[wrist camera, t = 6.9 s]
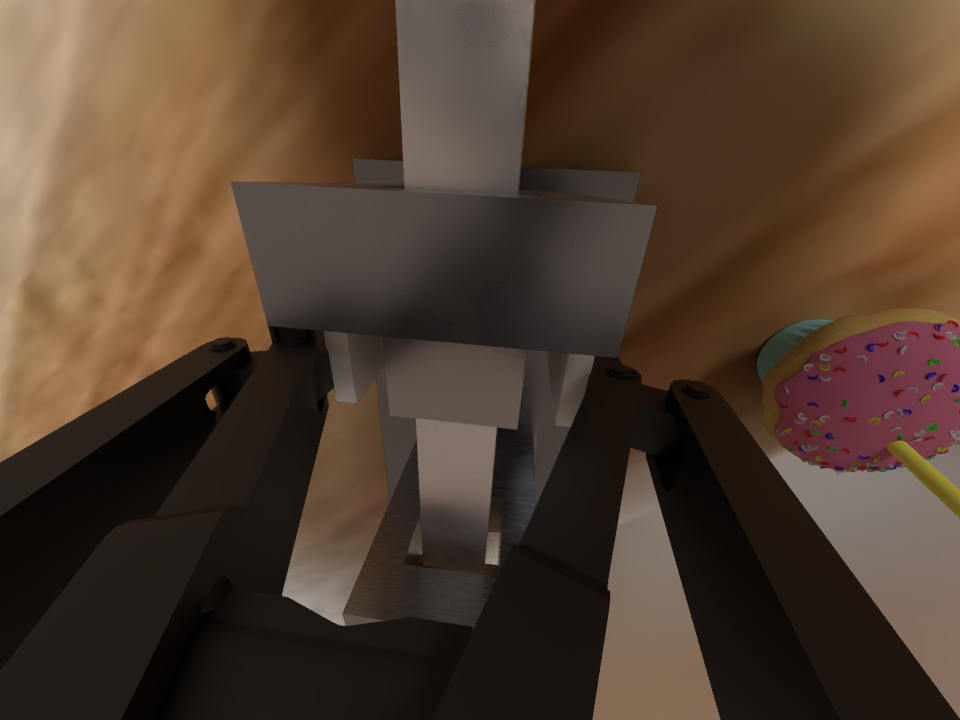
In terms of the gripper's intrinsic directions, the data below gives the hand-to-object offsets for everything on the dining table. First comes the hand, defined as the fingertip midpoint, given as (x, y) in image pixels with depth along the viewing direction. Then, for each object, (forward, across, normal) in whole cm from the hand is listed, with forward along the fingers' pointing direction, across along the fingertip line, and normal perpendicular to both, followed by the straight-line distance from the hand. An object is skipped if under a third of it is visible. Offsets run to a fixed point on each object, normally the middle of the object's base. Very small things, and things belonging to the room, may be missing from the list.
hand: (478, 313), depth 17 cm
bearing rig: (+5, 0, -6) cm, 8 cm away
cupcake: (+5, +19, -2) cm, 20 cm away
